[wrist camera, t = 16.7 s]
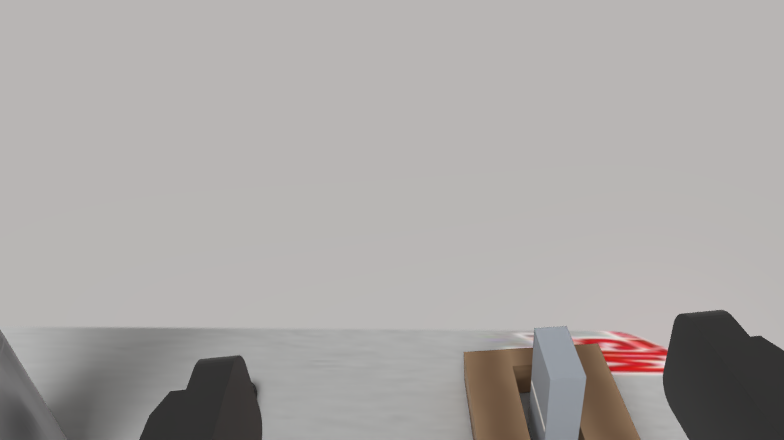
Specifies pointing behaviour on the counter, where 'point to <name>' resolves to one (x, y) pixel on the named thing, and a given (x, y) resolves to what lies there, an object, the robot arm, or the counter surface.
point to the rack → (513, 376)
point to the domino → (555, 386)
